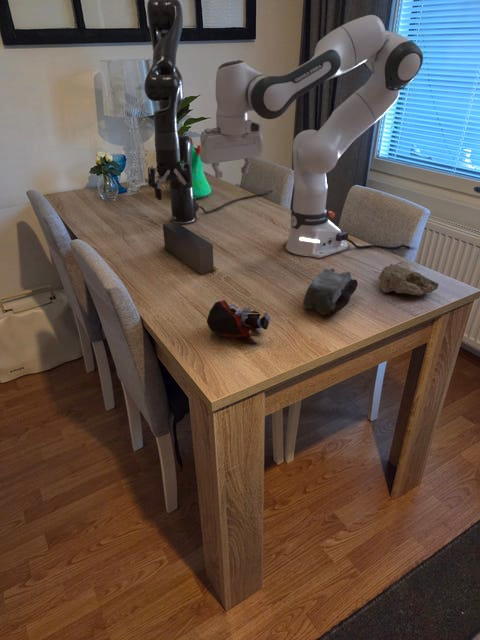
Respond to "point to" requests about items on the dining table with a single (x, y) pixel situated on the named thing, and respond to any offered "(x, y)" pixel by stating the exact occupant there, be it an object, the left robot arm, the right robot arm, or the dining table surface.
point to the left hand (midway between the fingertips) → (171, 197)
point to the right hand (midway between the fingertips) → (232, 175)
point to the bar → (188, 247)
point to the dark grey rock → (330, 292)
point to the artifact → (405, 280)
